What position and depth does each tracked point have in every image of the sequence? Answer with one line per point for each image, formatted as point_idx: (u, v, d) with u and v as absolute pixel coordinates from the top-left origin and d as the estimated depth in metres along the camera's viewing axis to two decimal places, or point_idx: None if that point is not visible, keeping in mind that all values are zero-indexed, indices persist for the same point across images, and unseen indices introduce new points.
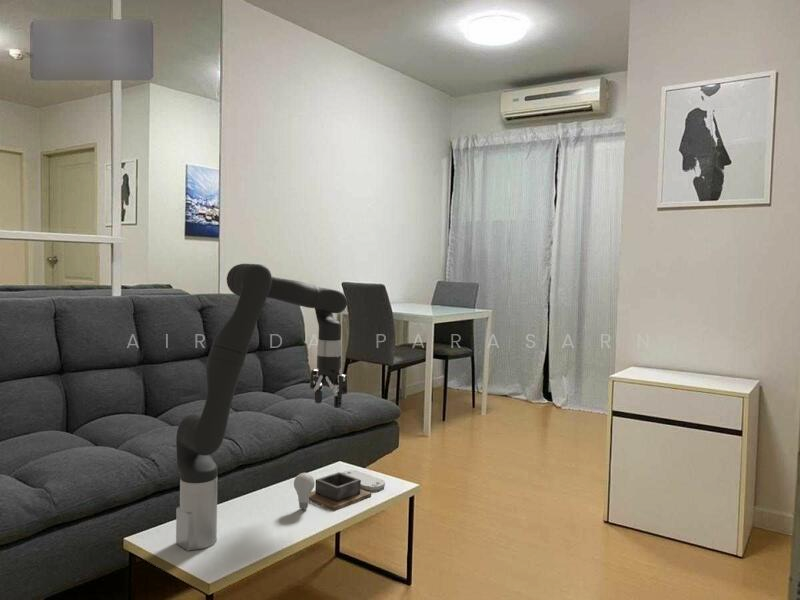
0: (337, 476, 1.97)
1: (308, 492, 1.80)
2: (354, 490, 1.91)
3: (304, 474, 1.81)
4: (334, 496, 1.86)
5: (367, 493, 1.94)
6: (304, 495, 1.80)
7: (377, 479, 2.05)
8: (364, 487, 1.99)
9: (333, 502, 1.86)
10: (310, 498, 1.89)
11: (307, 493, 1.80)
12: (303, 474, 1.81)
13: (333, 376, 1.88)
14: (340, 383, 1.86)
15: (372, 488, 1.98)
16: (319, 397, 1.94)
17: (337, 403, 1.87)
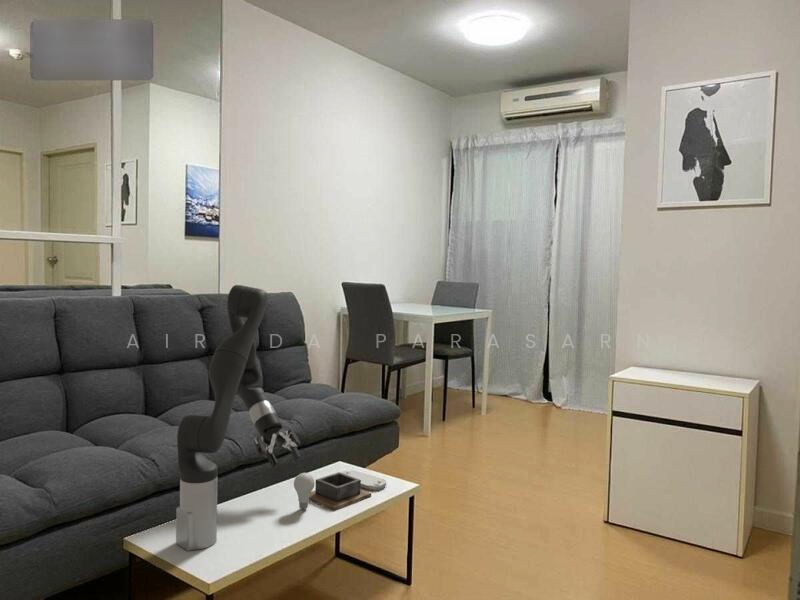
0: (337, 476, 1.97)
1: (308, 492, 1.80)
2: (354, 490, 1.91)
3: (304, 474, 1.81)
4: (334, 496, 1.86)
5: (367, 493, 1.94)
6: (304, 495, 1.80)
7: (377, 478, 2.06)
8: (367, 487, 1.99)
9: (333, 502, 1.86)
10: (310, 498, 1.89)
11: (307, 493, 1.80)
12: (303, 474, 1.81)
13: (283, 432, 1.92)
14: (294, 434, 1.94)
15: (375, 487, 1.98)
16: None
17: (298, 453, 1.90)
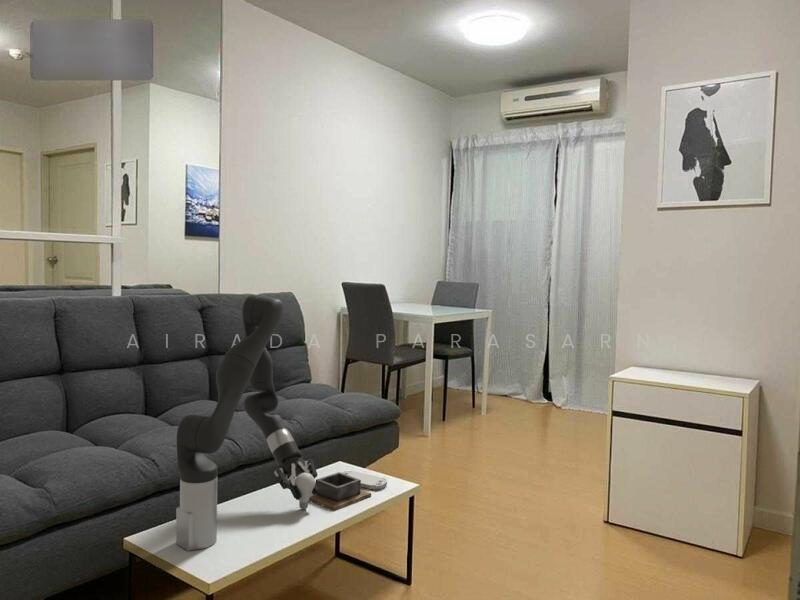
0: (337, 476, 1.97)
1: (309, 492, 1.80)
2: (354, 490, 1.91)
3: (305, 474, 1.81)
4: (334, 496, 1.86)
5: (367, 493, 1.94)
6: (304, 495, 1.80)
7: (377, 477, 2.06)
8: (369, 486, 1.99)
9: (333, 502, 1.86)
10: (310, 498, 1.89)
11: (307, 493, 1.80)
12: (304, 474, 1.81)
13: (302, 461, 1.87)
14: (313, 465, 1.88)
15: (377, 487, 1.99)
16: None
17: (316, 486, 1.84)
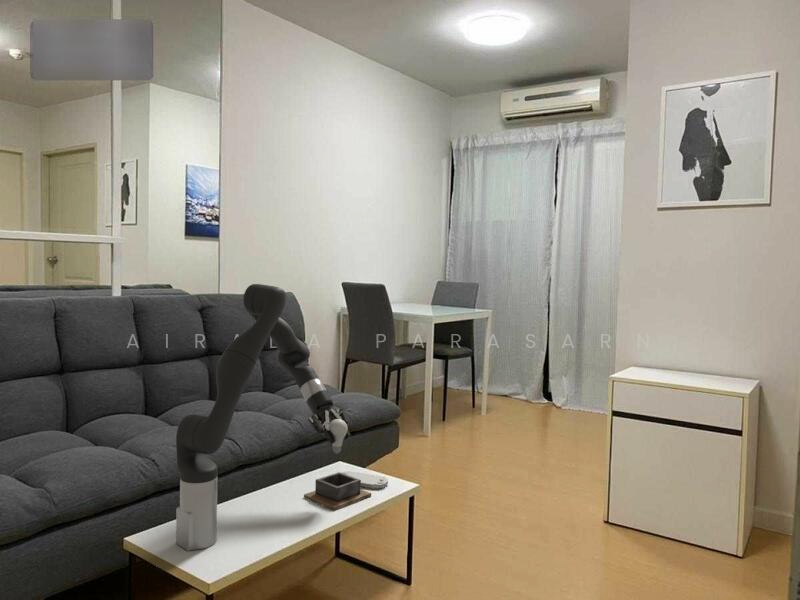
0: (337, 476, 1.97)
1: (342, 437, 1.89)
2: (354, 490, 1.91)
3: (338, 420, 1.90)
4: (334, 496, 1.86)
5: (367, 493, 1.94)
6: (338, 439, 1.89)
7: (377, 477, 2.07)
8: (371, 486, 2.00)
9: (333, 502, 1.86)
10: (310, 498, 1.89)
11: (340, 438, 1.89)
12: (337, 420, 1.90)
13: (335, 409, 1.96)
14: (344, 413, 1.97)
15: (380, 486, 2.00)
16: None
17: (348, 432, 1.93)
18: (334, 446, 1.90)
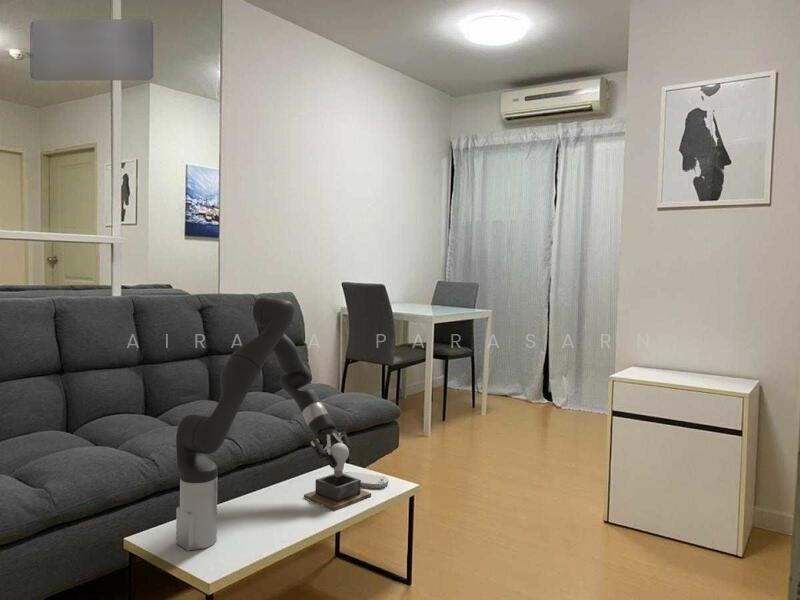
0: None
1: (343, 461, 1.90)
2: (354, 490, 1.91)
3: (339, 444, 1.91)
4: (334, 496, 1.86)
5: (367, 493, 1.94)
6: (339, 464, 1.90)
7: (377, 476, 2.08)
8: (373, 485, 2.00)
9: (333, 502, 1.86)
10: (310, 498, 1.89)
11: (342, 462, 1.90)
12: (338, 444, 1.91)
13: (336, 432, 1.97)
14: (346, 437, 1.98)
15: (381, 485, 2.01)
16: None
17: (350, 456, 1.94)
18: (335, 470, 1.91)
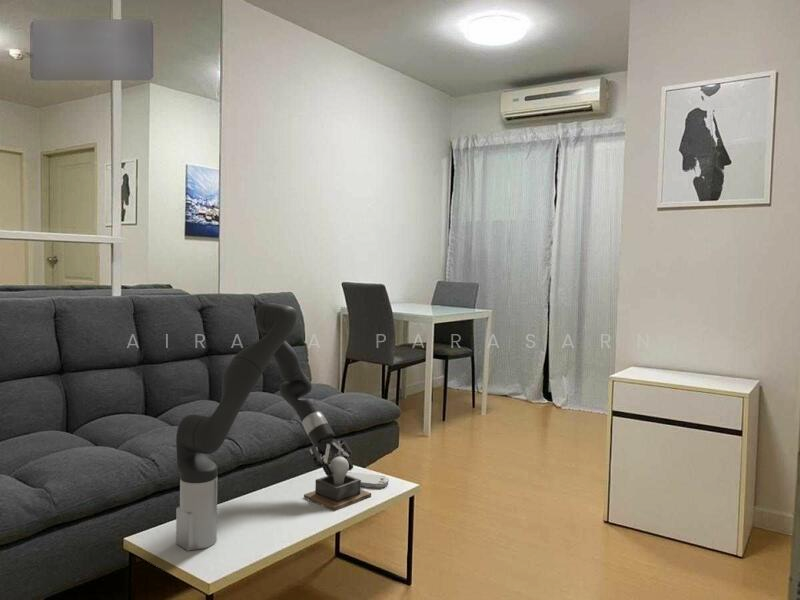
0: None
1: (343, 474, 1.91)
2: (354, 490, 1.91)
3: (339, 458, 1.92)
4: (334, 496, 1.86)
5: (367, 493, 1.94)
6: (339, 477, 1.91)
7: (377, 476, 2.08)
8: (374, 485, 2.01)
9: (333, 502, 1.86)
10: (310, 498, 1.89)
11: (342, 476, 1.91)
12: (338, 458, 1.92)
13: (336, 442, 1.97)
14: (346, 444, 1.99)
15: (382, 485, 2.01)
16: None
17: (351, 463, 1.95)
18: (336, 484, 1.92)
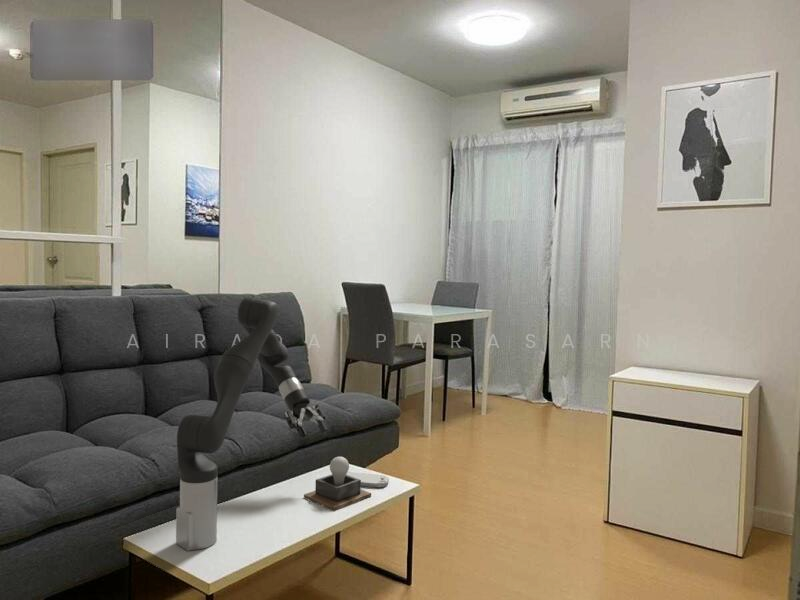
0: None
1: (343, 474, 1.91)
2: (354, 490, 1.91)
3: (339, 457, 1.92)
4: (334, 496, 1.86)
5: (367, 493, 1.94)
6: (339, 477, 1.91)
7: (376, 475, 2.08)
8: (375, 485, 2.01)
9: (333, 502, 1.86)
10: (310, 498, 1.89)
11: (342, 476, 1.91)
12: (338, 457, 1.92)
13: (311, 407, 2.05)
14: (320, 409, 2.07)
15: (383, 484, 2.02)
16: None
17: (325, 427, 2.03)
18: (336, 484, 1.92)
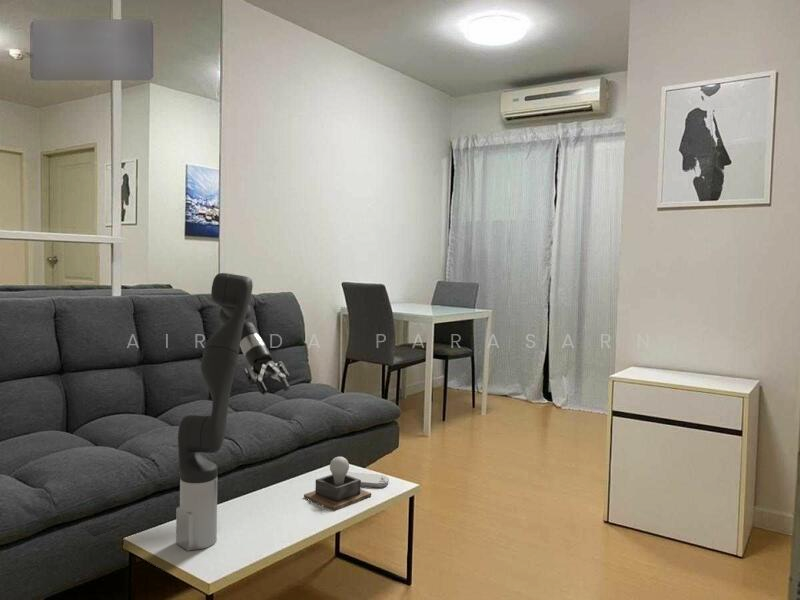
0: None
1: (343, 474, 1.91)
2: (354, 490, 1.91)
3: (339, 458, 1.92)
4: (334, 496, 1.86)
5: (367, 493, 1.94)
6: (339, 477, 1.91)
7: (376, 475, 2.09)
8: (375, 485, 2.01)
9: (333, 502, 1.86)
10: (310, 498, 1.89)
11: (342, 476, 1.91)
12: (338, 457, 1.92)
13: (273, 363, 1.98)
14: (283, 366, 2.00)
15: (383, 484, 2.02)
16: None
17: (287, 384, 1.96)
18: (336, 484, 1.92)
